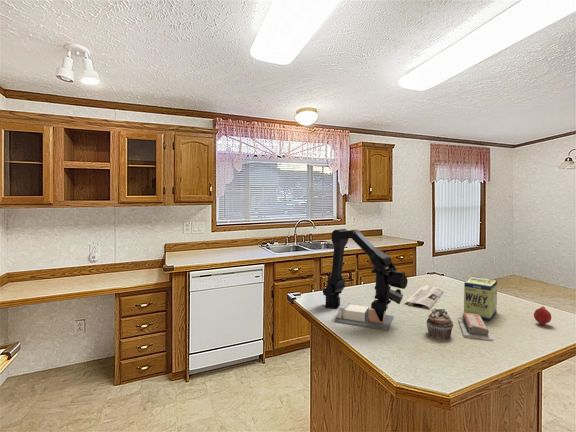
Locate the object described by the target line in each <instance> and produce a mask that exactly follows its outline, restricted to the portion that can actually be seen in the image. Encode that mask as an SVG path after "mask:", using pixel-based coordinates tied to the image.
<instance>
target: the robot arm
mask: <svg viewBox="0 0 576 432" xmlns="http://www.w3.org/2000/svg"><path fill="white" fill-rule="evenodd" d="M349 239H351V240H353V242H355V244H356V245H358V247H359V248H361V250H362V251H363V252H364V253H365V254H366V255H367V256H368V257H369V261H370V262H371V264H372V265H373V267H374V268H373V269H372V270H371V271H370V273H373V274H375V286H374V290H375V295H374V300H373V301H372V302H371V303H370V308H372V309H374V310H375V312H376V314H377V316H378V318H379V320H380V321H383V316H384V311H385V314H386V311H387V310H388V308H389V304H391V302H394V303H396V304H398V305H400V304H401V302H402V300H403V297H404V294H403V293H402V290H403V289H406V287H407V286H408V278H407V275H406V272H404V271H398V270H397V268H396V266H395V265H394V263H393V261H392V258H391V256H389V255H388V254H386V253H385V252H384V251H382V250H379V249H378V248H376V247H375V245H373V243H372V242H370V241H369V240H368V238H366V237H365V235H363V234H362V233H361V231H360V230H359V229H351V230H349V229H348V230H347V229H346V228H338V229H335V230H333V231H332V232H331V243H332V245H333V256H332V266H331V267H332V268H331V274H330V277H329V278H328V280H327V283H326V287H325V288H324V289H323V290H322V295H323V296H325V305H324V308H328V309H336V310H338V309H339V307H340V306H341V297H340V294H342V292H343V290H344V289H345V288H346V279H345V278H343V276H342V274H343V273H342V272H343V262H344V255H345V254H344V253H345V247H346V246H347V244H348V242H349ZM391 287H392V288H396V289H391Z"/></svg>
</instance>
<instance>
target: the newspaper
mask: <svg viewBox="0 0 576 432" xmlns="http://www.w3.org/2000/svg"><path fill="white" fill-rule="evenodd" d="M442 293H444V290H443V288H441V287H437V286H432V285H431V286H430V285H427V284H426V283H423V285H422V286H420V287H419V289H418V290H417V291H416V292H415V293H413V294H412V295H411V296H410V297H408V298H407V299H406V300H404V302H405V303H408V304H407V305H408V306H409V307H414V305H415V304H418V305H419V304H420V305H421V308H422V309H427V310H432V309H431V308H433V306H434V304H435V303H437V301H438V300H439V298H441V296H442V295H443V294H442Z"/></svg>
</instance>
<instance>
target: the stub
mask: <svg viewBox="0 0 576 432" xmlns="http://www.w3.org/2000/svg"><path fill="white" fill-rule="evenodd" d="M385 315H386V313H385V311H384V316H383V321H380V320H379V318H378V316H377V314H376V312H375V310H374V309H372V308H371V307H369V321H372V322H379V323H383V322H384V320H385Z"/></svg>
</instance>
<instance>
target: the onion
mask: <svg viewBox="0 0 576 432" xmlns="http://www.w3.org/2000/svg"><path fill="white" fill-rule="evenodd" d="M533 318H534V319H535V321H536V322H537V323H538V324H540V325H541V326H544V325H547V324H548V323H550V322H551V321H552V314H551V312H550V311H549V310H548V309H547V308H546V307H545V305H542V306H540V307H539V308H536V310H534V312H533Z"/></svg>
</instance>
